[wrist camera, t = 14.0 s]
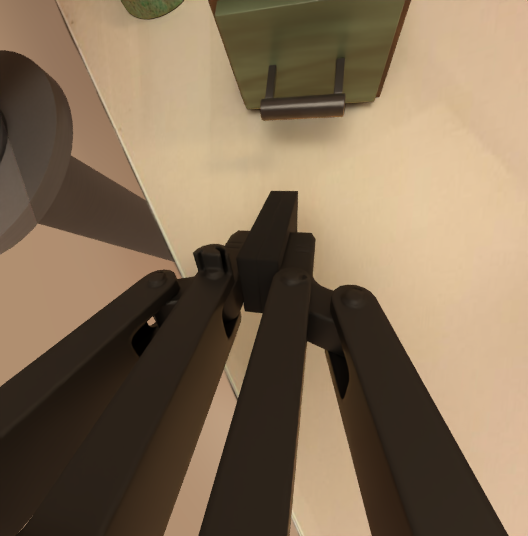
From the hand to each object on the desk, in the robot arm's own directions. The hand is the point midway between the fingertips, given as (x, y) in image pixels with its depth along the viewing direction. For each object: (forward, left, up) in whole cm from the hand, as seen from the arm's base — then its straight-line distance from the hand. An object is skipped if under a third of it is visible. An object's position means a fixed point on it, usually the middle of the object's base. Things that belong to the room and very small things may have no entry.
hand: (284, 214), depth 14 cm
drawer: (-14, +10, -7) cm, 19 cm away
